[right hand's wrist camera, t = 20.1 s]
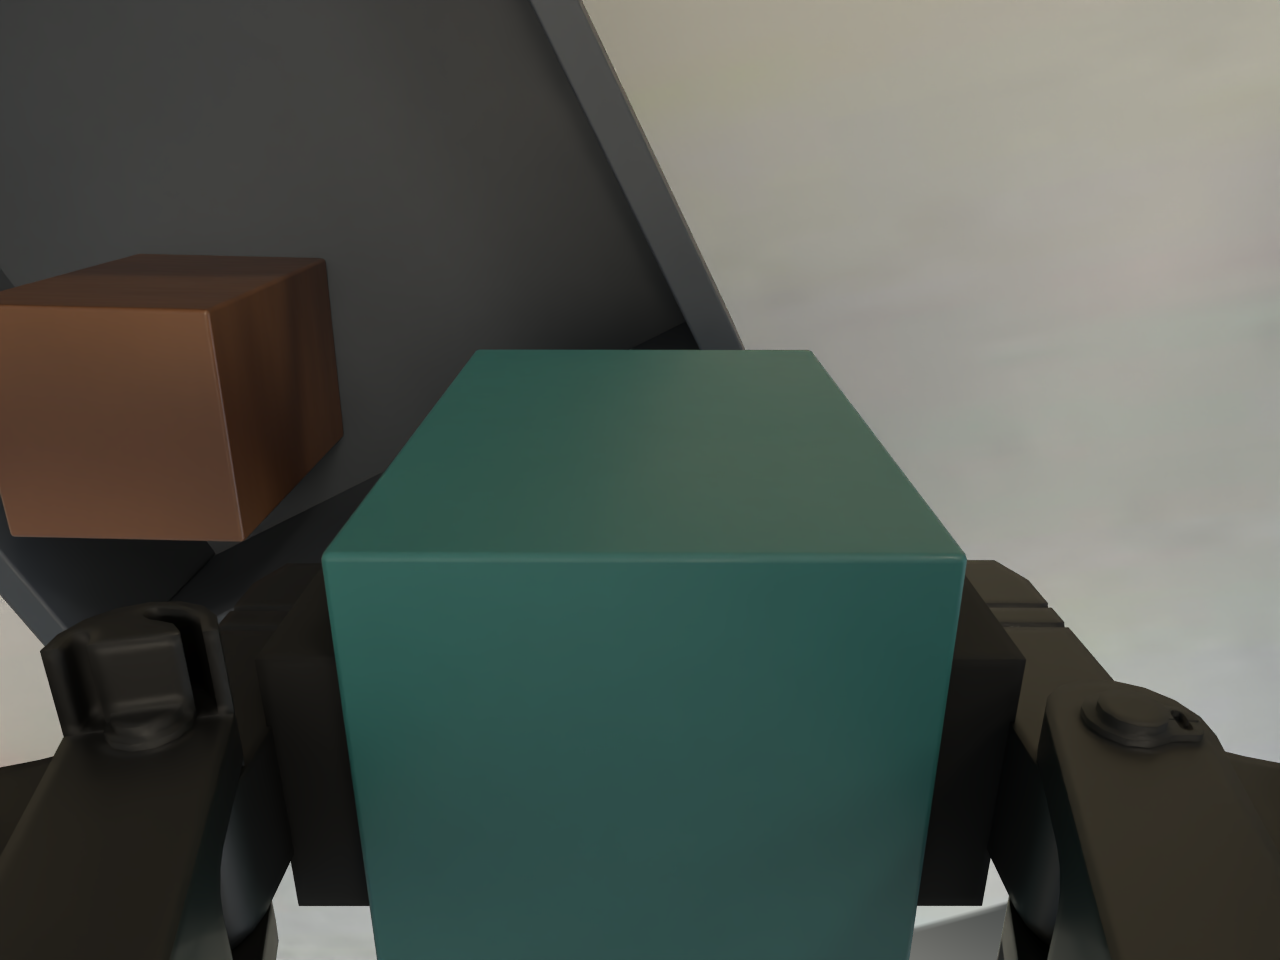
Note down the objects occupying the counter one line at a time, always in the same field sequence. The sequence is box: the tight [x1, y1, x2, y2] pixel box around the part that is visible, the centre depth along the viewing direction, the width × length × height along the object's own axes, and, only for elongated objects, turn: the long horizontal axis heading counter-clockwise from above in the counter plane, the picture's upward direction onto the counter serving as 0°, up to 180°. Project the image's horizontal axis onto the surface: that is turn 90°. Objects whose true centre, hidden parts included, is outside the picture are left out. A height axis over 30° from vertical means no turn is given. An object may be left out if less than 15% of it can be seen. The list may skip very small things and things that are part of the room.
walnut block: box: [0, 254, 343, 542], centre depth 22 cm, size 5×5×7 cm
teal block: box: [321, 350, 967, 960], centre depth 11 cm, size 5×5×7 cm
